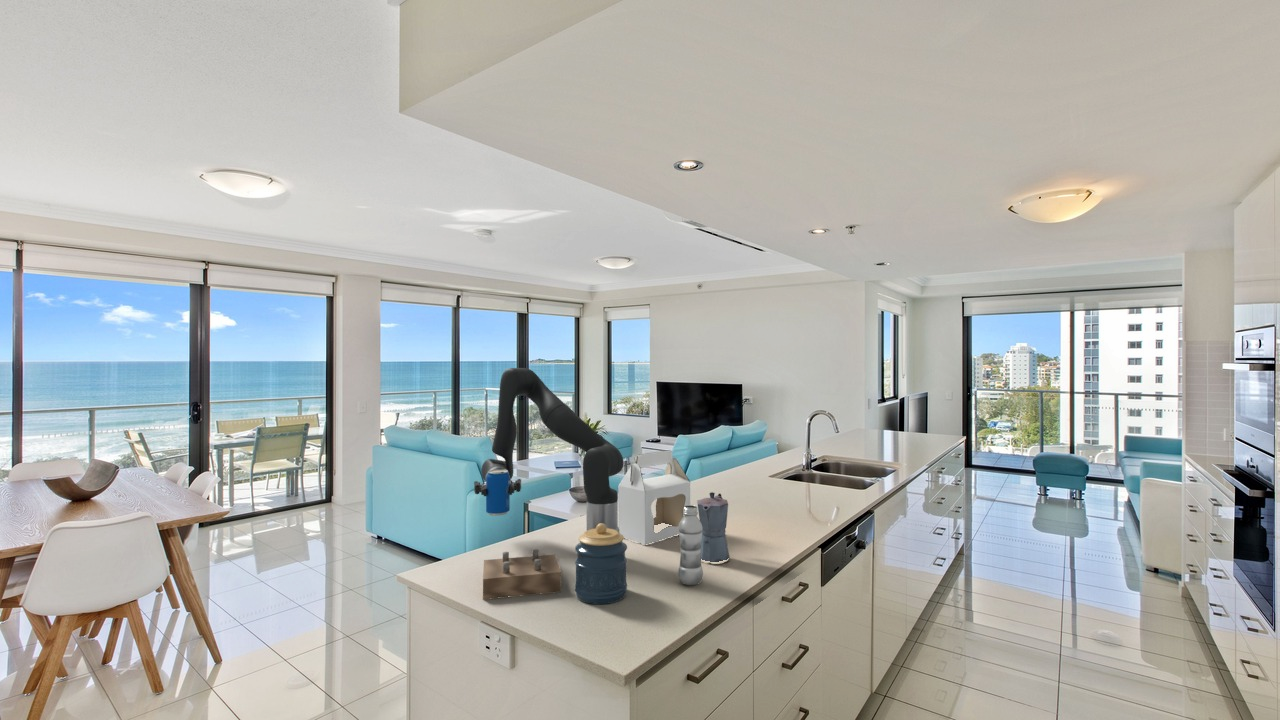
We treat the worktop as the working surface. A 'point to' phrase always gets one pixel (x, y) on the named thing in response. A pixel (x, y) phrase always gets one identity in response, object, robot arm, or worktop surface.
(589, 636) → the worktop surface
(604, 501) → the robot arm
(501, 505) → the beverage can
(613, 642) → the worktop surface
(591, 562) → the canister
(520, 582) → the peg board
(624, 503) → the gable box
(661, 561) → the worktop surface
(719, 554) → the moka pot
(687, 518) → the plastic bottle
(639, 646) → the worktop surface
